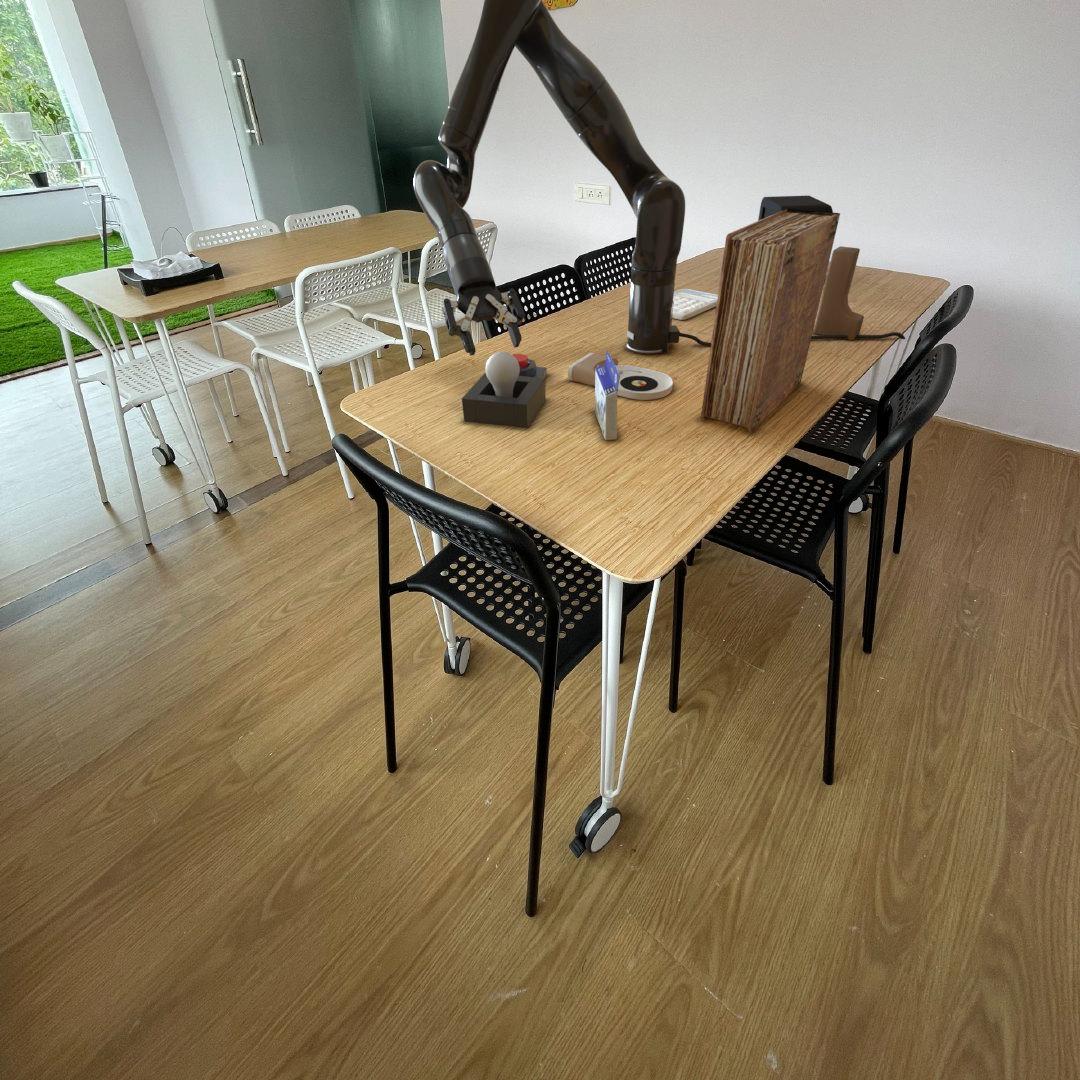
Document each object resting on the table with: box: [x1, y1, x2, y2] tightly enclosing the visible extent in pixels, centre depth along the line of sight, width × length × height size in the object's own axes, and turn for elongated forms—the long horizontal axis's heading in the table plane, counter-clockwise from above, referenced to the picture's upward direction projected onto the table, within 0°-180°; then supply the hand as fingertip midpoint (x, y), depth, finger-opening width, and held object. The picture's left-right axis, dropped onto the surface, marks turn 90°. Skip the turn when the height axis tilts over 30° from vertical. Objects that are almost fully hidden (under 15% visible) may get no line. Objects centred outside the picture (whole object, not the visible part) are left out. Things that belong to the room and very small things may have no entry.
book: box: [700, 209, 841, 433], centre depth 106 cm, size 25×9×30 cm, turn 143°
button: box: [511, 353, 529, 369], centre depth 123 cm, size 4×4×2 cm
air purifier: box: [757, 195, 834, 221], centre depth 177 cm, size 20×15×20 cm
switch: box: [519, 358, 548, 379], centre depth 125 cm, size 10×8×4 cm
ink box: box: [594, 349, 620, 441], centre depth 105 cm, size 12×2×12 cm, turn 5°
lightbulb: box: [485, 351, 520, 397], centre depth 111 cm, size 6×6×11 cm
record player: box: [567, 352, 674, 401], centre depth 122 cm, size 12×3×20 cm
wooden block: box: [813, 246, 865, 341], centre depth 137 cm, size 9×4×18 cm, turn 52°
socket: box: [461, 372, 547, 429], centre depth 113 cm, size 12×12×4 cm
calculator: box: [672, 288, 718, 321], centre depth 161 cm, size 13×20×2 cm, turn 136°
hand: (495, 349), depth 111 cm, fingers open, 8 cm apart
